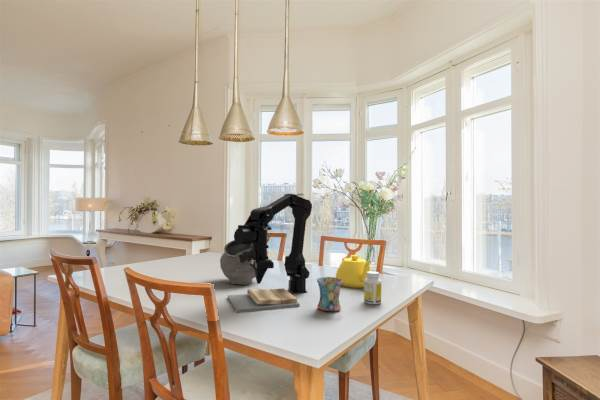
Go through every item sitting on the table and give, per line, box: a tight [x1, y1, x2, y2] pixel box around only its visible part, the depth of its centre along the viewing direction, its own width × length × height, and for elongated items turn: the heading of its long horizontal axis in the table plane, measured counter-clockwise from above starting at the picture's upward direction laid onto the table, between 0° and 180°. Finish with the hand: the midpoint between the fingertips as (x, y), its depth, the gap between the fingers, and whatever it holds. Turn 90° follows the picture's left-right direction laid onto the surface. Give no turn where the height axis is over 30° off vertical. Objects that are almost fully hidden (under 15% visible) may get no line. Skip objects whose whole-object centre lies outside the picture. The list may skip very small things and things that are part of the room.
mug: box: [316, 276, 343, 312], centre depth 123 cm, size 12×9×11 cm
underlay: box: [227, 293, 300, 313], centre depth 132 cm, size 23×19×1 cm
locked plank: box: [269, 288, 298, 304], centre depth 134 cm, size 6×16×2 cm, turn 21°
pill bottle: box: [363, 270, 382, 305], centre depth 134 cm, size 6×6×12 cm
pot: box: [219, 239, 256, 286], centre depth 164 cm, size 21×21×25 cm
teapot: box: [335, 254, 373, 289], centre depth 163 cm, size 25×18×14 cm
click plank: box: [246, 288, 282, 304], centre depth 132 cm, size 9×16×2 cm, turn 21°
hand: (258, 283), depth 131 cm, fingers closed
